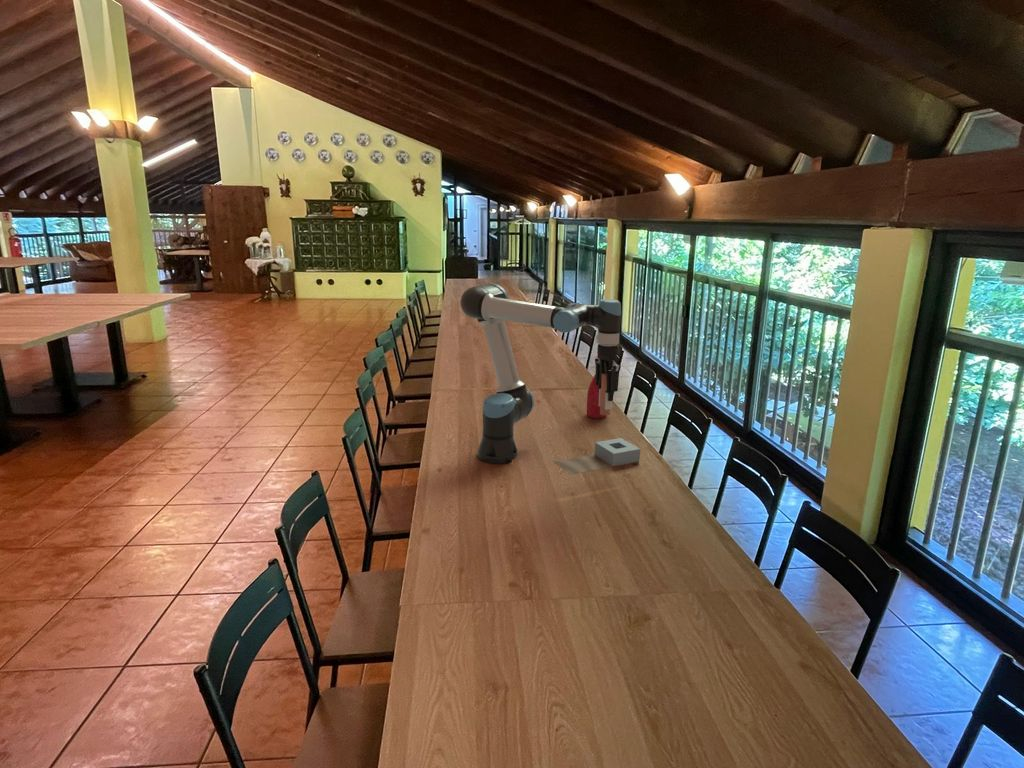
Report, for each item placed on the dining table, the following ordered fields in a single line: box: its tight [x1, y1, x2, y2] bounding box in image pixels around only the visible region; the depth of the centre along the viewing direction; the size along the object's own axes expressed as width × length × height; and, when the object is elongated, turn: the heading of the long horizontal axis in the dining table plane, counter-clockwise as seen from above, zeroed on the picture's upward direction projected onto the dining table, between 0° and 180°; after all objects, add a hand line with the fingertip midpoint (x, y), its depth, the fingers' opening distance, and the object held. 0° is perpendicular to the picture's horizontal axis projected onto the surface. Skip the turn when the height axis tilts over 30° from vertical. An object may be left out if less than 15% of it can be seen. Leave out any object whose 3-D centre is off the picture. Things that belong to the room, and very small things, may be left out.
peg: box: [600, 373, 611, 417], centre depth 222 cm, size 4×4×15 cm
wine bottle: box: [586, 353, 608, 419], centre depth 278 cm, size 10×10×30 cm
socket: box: [593, 437, 641, 467], centre depth 233 cm, size 12×12×5 cm
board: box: [554, 454, 640, 475], centre depth 230 cm, size 30×12×1 cm, turn 116°
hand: (605, 407), depth 223 cm, fingers closed on peg, 3 cm apart
